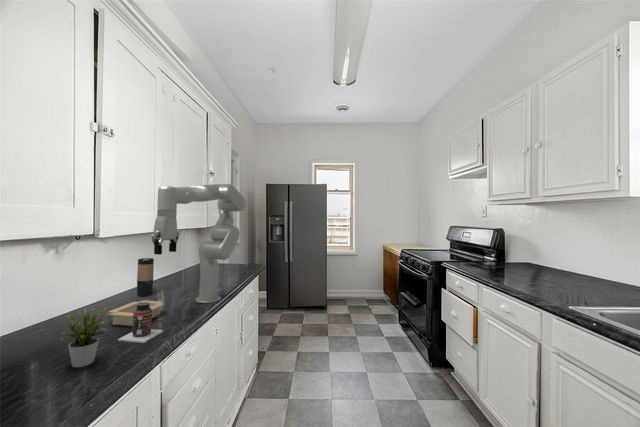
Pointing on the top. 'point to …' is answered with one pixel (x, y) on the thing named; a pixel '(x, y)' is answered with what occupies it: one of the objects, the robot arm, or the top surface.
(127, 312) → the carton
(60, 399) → the top surface
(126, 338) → the mat
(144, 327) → the supplement bottle
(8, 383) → the top surface
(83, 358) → the house plant
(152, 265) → the travel mug
